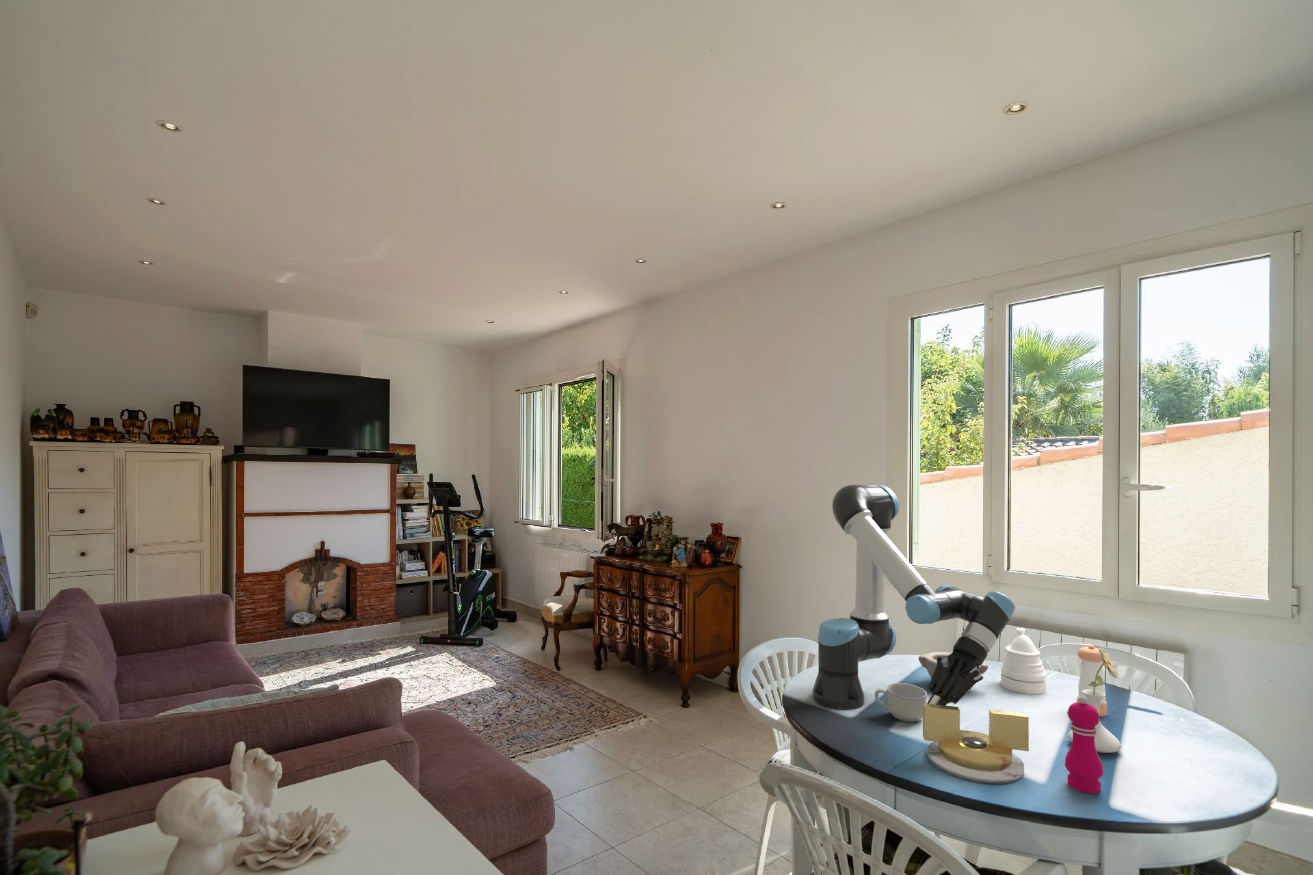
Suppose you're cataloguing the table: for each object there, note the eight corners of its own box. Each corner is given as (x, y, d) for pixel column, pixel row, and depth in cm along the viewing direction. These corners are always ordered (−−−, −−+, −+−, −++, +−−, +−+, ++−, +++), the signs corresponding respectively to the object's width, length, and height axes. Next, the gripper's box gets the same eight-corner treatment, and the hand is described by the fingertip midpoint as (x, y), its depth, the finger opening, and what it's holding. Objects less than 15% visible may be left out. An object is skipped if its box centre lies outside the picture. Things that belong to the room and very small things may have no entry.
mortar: (993, 692, 211) (993, 662, 211) (953, 699, 205) (953, 668, 205) (950, 676, 227) (951, 648, 227) (912, 681, 220) (912, 653, 220)
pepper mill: (1057, 779, 153) (1057, 690, 154) (1087, 778, 154) (1086, 690, 155) (1080, 795, 146) (1079, 702, 147) (1111, 794, 147) (1110, 701, 148)
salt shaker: (1106, 718, 190) (1105, 650, 191) (1075, 712, 195) (1075, 645, 195) (1107, 711, 196) (1107, 644, 197) (1078, 705, 201) (1078, 640, 201)
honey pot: (995, 679, 224) (994, 624, 224) (1036, 681, 222) (1036, 626, 223) (1009, 692, 211) (1009, 634, 212) (1053, 695, 209) (1053, 636, 210)
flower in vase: (1104, 760, 163) (1104, 657, 164) (1058, 743, 173) (1057, 645, 174) (1134, 750, 169) (1134, 650, 170) (1088, 734, 179) (1087, 639, 180)
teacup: (925, 713, 193) (925, 685, 193) (928, 727, 182) (928, 697, 183) (874, 707, 197) (874, 679, 197) (874, 720, 187) (874, 691, 187)
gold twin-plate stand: (983, 777, 150) (983, 730, 150) (918, 747, 165) (918, 704, 165) (1032, 760, 159) (1032, 715, 159) (966, 733, 174) (966, 692, 174)
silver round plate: (926, 772, 156) (926, 765, 156) (928, 738, 175) (928, 731, 175) (1029, 791, 148) (1029, 783, 148) (1019, 753, 167) (1019, 746, 167)
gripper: (1003, 660, 168) (955, 739, 161) (960, 647, 180) (914, 719, 173) (988, 642, 166) (939, 720, 159) (946, 629, 178) (898, 702, 171)
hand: (926, 720), depth 166 cm, fingers closed
